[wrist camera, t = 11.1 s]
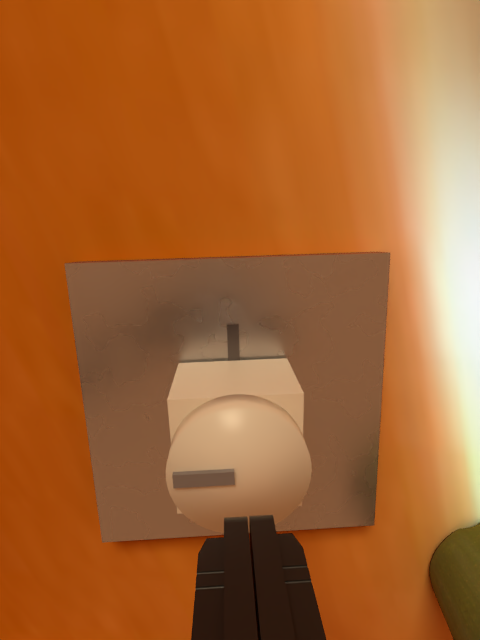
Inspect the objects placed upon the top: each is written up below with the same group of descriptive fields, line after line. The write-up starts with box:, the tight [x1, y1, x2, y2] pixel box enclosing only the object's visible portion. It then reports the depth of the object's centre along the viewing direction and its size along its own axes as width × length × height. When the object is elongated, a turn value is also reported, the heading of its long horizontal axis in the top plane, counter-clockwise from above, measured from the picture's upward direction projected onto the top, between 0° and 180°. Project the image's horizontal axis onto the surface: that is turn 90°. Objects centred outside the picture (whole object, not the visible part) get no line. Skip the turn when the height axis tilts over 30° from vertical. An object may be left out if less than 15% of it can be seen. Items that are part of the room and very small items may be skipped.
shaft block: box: [65, 252, 390, 542], centre depth 18 cm, size 16×16×5 cm
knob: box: [166, 358, 312, 533], centre depth 17 cm, size 6×6×5 cm
